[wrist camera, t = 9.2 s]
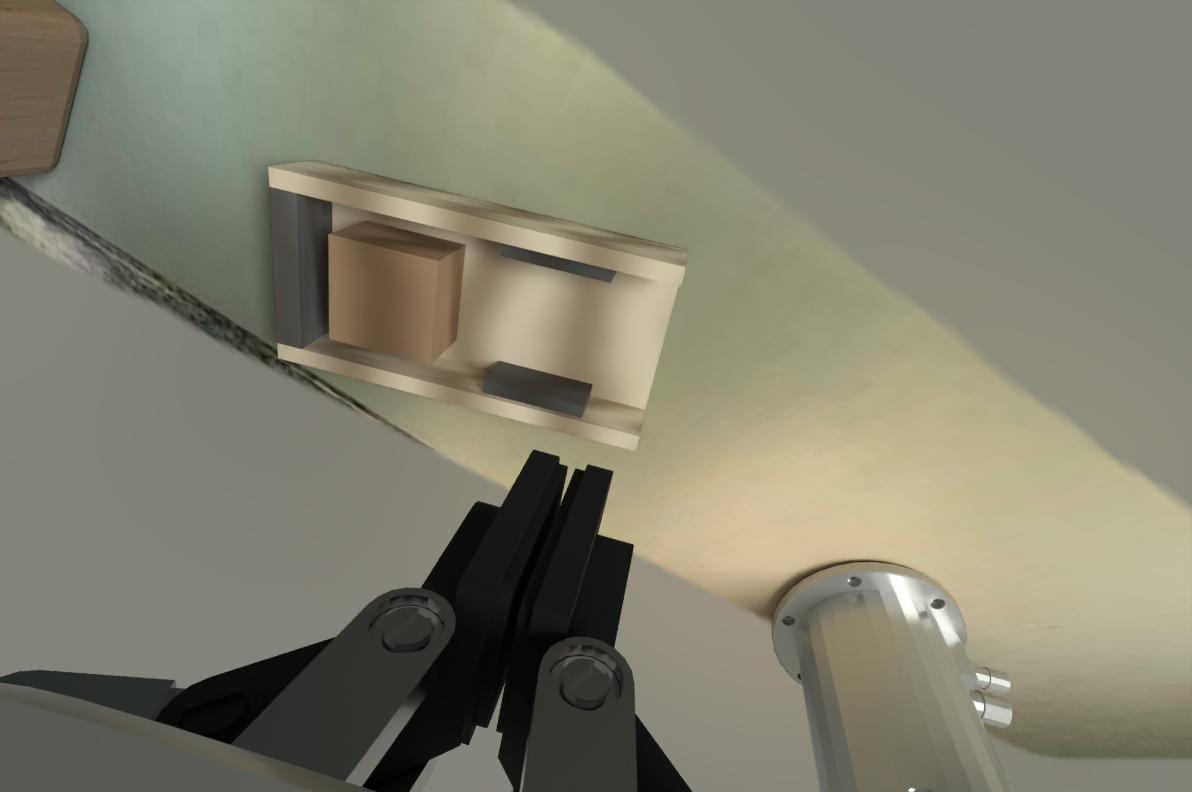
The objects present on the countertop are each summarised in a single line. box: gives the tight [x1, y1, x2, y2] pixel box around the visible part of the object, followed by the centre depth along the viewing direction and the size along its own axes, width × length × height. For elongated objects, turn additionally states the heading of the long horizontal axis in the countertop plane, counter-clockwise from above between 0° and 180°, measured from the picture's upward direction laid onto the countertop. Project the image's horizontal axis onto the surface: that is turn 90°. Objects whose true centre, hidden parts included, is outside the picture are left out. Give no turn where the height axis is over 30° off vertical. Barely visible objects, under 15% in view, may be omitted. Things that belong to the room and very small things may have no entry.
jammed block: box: [328, 221, 466, 365], centre depth 34 cm, size 6×6×4 cm
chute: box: [268, 160, 688, 451], centre depth 35 cm, size 22×11×4 cm, turn 80°
